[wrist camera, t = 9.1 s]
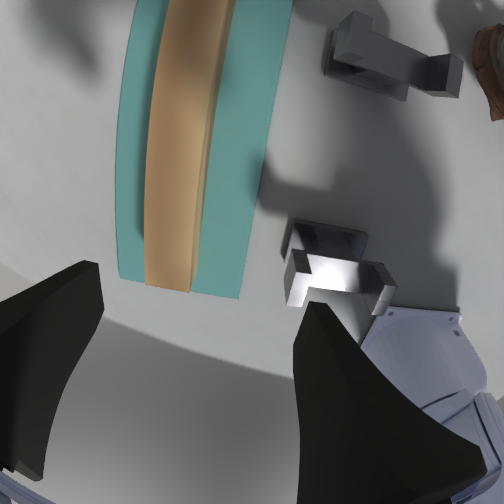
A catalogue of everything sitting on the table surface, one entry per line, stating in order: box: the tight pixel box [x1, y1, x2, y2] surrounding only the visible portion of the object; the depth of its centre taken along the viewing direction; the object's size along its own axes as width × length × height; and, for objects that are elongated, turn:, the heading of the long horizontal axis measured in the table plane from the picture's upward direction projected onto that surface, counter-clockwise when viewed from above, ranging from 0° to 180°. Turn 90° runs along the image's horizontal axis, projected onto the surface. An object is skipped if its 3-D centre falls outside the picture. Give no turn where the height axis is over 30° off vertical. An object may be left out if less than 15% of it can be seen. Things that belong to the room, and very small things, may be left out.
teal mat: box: [116, 0, 293, 299], centre depth 16 cm, size 9×22×1 cm, turn 171°
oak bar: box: [144, 0, 236, 293], centre depth 14 cm, size 3×18×3 cm, turn 171°
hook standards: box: [284, 11, 464, 316], centre depth 14 cm, size 6×15×6 cm, turn 171°
